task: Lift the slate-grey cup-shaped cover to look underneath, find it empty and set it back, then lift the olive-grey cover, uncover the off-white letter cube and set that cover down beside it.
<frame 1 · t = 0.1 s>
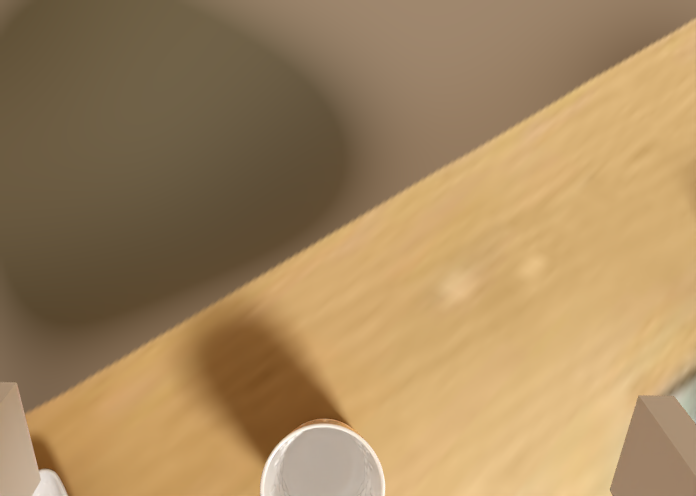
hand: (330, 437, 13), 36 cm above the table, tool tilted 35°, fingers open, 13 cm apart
white cup: (324, 461, 47), on the table
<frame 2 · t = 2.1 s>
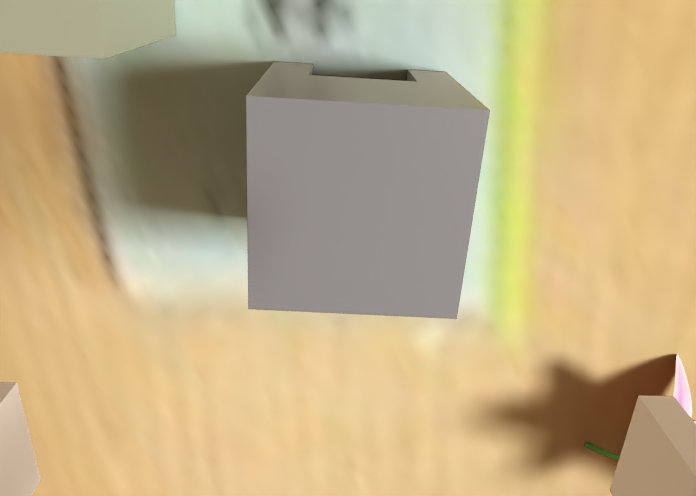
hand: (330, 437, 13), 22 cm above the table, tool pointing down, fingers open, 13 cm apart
lily: (640, 415, 41), on the table
slate cover: (354, 150, 33), on the table
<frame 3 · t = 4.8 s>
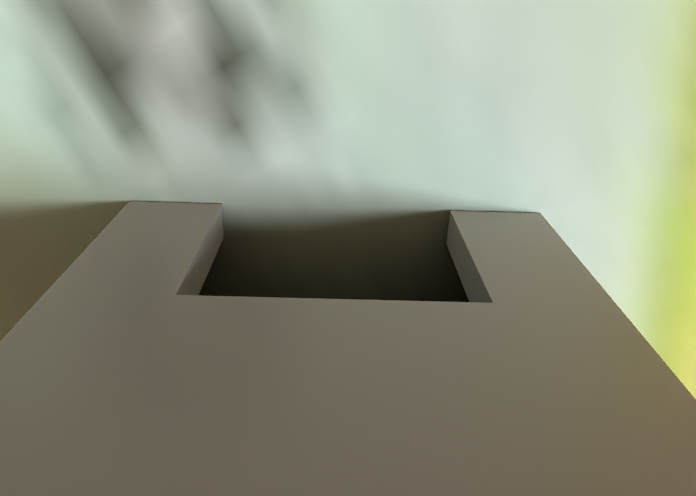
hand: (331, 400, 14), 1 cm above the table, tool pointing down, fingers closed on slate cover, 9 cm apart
slate cover: (331, 374, 15), on the table, touching gripper
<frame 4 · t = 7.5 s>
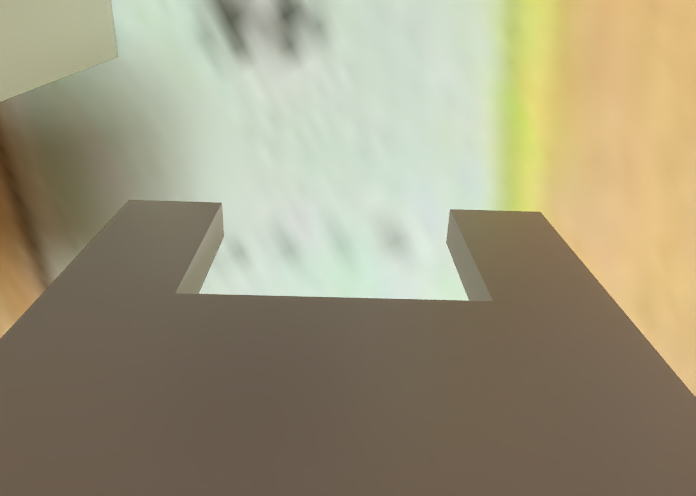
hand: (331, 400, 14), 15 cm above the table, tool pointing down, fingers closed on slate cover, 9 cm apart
slate cover: (331, 373, 15), point 14 cm above the table, touching gripper
when the fingers open (2 cm above the table, at t = 10.5 s): slate cover stays where it is, on the table.
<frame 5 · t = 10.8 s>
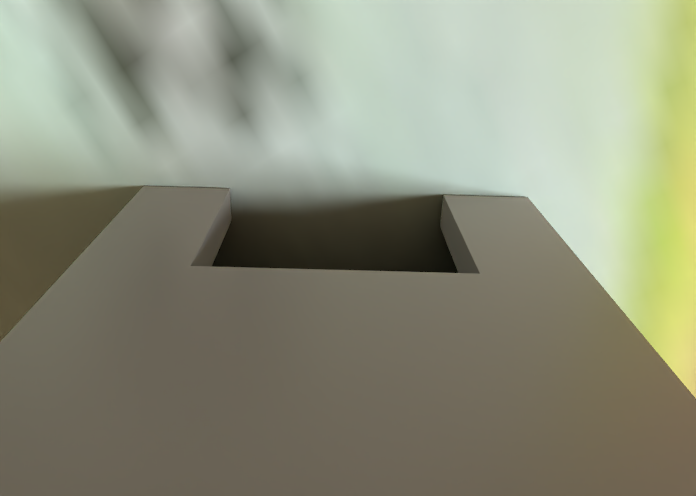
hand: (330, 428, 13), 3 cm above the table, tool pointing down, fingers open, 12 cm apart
slate cover: (332, 351, 16), on the table
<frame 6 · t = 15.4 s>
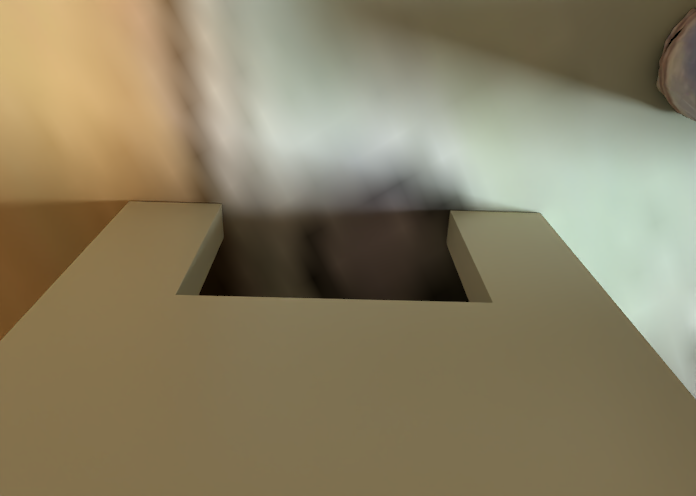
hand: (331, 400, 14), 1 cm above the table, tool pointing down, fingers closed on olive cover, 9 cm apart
olive cover: (331, 374, 15), on the table, touching gripper
when the fingers open (2 cm above the table, at t = 22.8 s): olive cover stays where it is, on the table.
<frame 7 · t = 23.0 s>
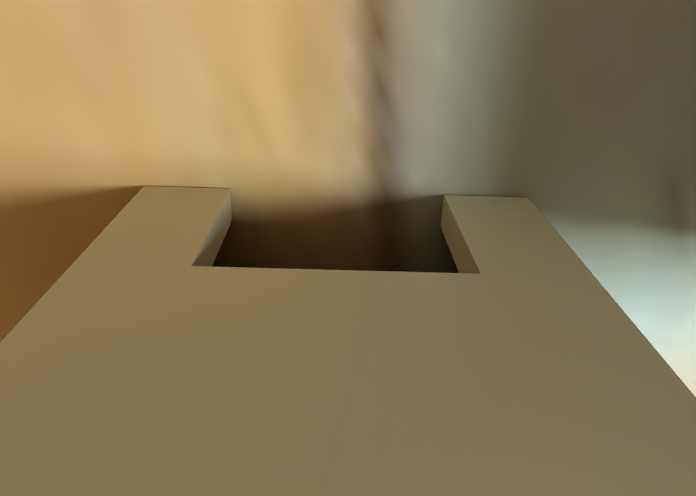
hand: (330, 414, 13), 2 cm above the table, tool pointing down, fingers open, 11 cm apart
olive cover: (332, 351, 16), on the table
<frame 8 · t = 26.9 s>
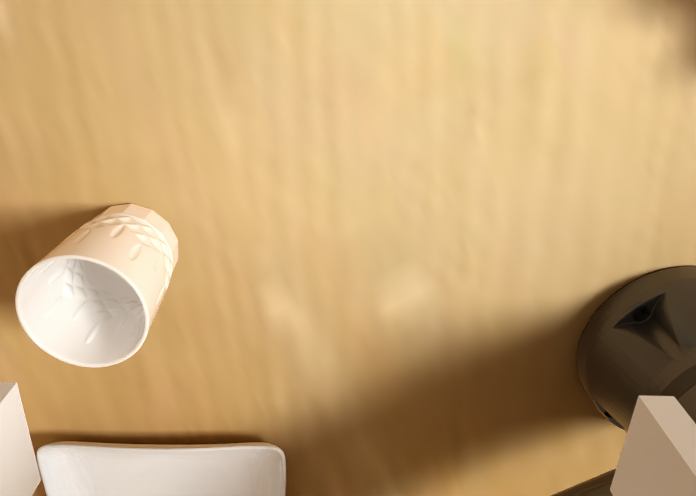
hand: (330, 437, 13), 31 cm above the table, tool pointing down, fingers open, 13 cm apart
white cup: (135, 243, 45), on the table
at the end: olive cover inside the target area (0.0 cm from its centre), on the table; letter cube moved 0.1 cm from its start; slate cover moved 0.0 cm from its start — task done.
